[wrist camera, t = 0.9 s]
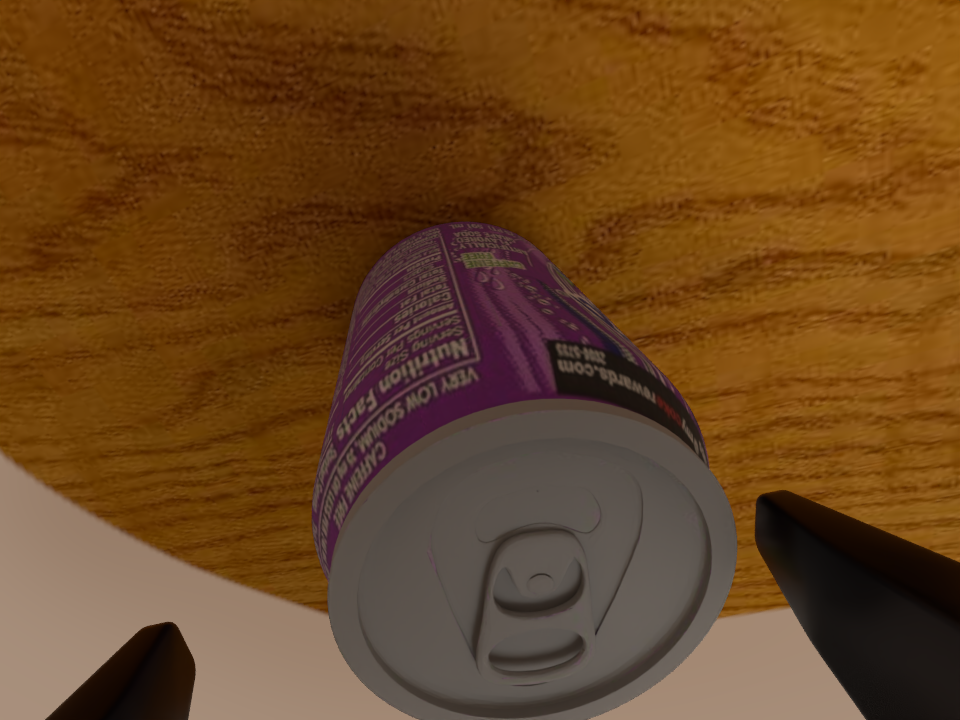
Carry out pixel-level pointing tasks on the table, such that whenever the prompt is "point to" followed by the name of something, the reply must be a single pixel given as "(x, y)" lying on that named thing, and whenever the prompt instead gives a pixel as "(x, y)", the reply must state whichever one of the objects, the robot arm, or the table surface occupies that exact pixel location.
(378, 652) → the beverage can
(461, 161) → the table surface
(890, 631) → the robot arm
